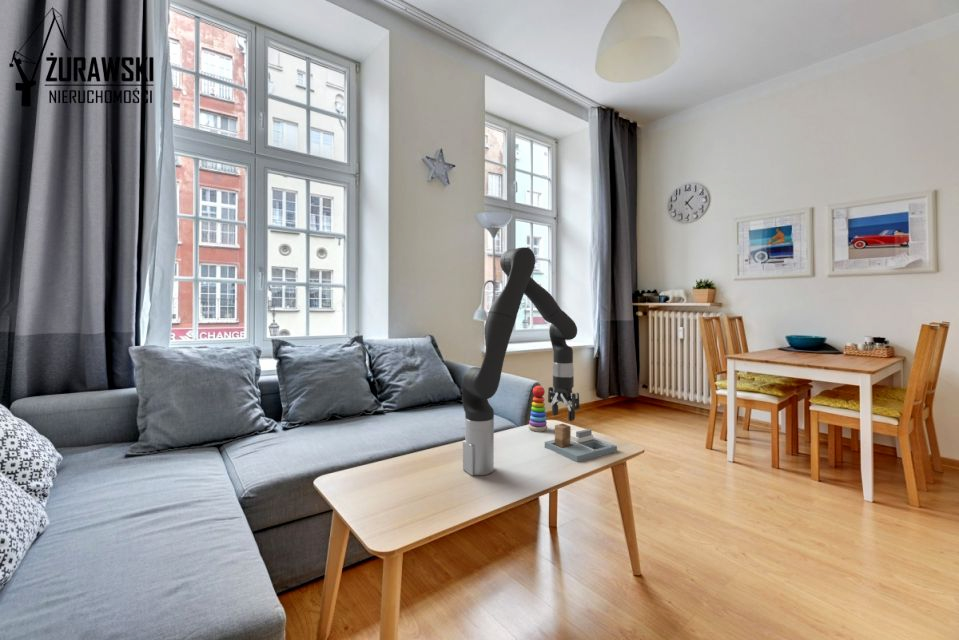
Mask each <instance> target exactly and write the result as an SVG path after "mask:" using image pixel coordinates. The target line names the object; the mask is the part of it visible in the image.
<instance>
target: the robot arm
mask: <svg viewBox="0 0 959 640" xmlns="http://www.w3.org/2000/svg"><path fill="white" fill-rule="evenodd" d="M499 264H500V267H501V271H503V273H504V274H505V275H506V276H507V277H508V278H507V282H506V283H505V286H504V288H503V289H502V290H501V292H500V293H499V294H498V296H497V297H495V298H496V299H495V300H494V301H493V303H492V305H491V306H490V308H489V311H488V314H487V317H486V320H485V325H484V329H483V330H484V332H483V333H484V343H485V346H484V347H485V351H484V356H483V359H482V362H481V366H480V367H477V366H474V367H473V366H472V367H470V368H468V369H467V370H466V371H465V372H464V374H463V377H462V381H461V394H462V408H463V411H464V413H465V414H464V416H465V417H464V420H465V424H464V425H465V427H464V430H465V431H464V433H465V435H464V437H465V438H464V439H465V440H464V439H463V440H462V470H463V471H464V472H466V473H467V474H468V475H470V476H485V475H486V476H487V475H490V474H491V473H493V472H494V469H495V467H494V464H495V462H494V460H495V459H494V457H495V456H494V454H495V452H494V450H495V445H494V443H495V441H494V440H495V439H494V438H495V437H494V435H495V434H494V433H495V431H494V430H495V426H494V425H495V422H494V421H495V419H494V418H495V412H494V408H493V407H492V406H491V404H490V402H489V401H488V400H490V399H491V398H492V397H494V395H495V394H496V392H497V391H498V388H499V385H500V381H501V377H502V371H503V366H504V361H505V357H506V353H507V350H508V347H509V343H510V340H511V336H512V333H513V331H514V327H515V324H516V320H517V317H518V313H519V309H520V306H521V304H522V300H523V299H524V295H525V296H526V297H527V298H528V300H530V302H531V304H533V306H534V307H535V308H536V310H537V311H538V313H539V314H540V315H541V317H542V318H543V320H544V321H545V322H547V323H549V324H550V326H549V330H548V333H549V338H550V344H551V348H552V351H553V364H552V386H549V387H548V389H547V390H548V392H547V394H548V395H547V402H548V403H550V405H551V413H552V416H558V415H559V403H560V402H562V403H563V404H564V405H565V407H567V409H568V412H567V413H568V414H567V415H568V418H567V419H568V422H573V421H574V420H575V419H576V417H575V416H576V415H575V414H576V411H578V410H580V408H581V407H580V394H579V392H573V388H574V387H575V385H574V383H575V379H574V376H575V373H574V369H575V368H574V350H573V348H572V346H569V345H568V344H567V342H566V341H571V340H573V339H575V338H576V337H577V335H578V327H577V323H576V322H575V320H573V319H572V318H571V317H570V316H569V315H568V313H566V312H565V311H564V310H562V308H561V306H560V305H559V304H558V303H557V300H555V298H554V296H552V294H551V293H550V292H549V291H547V290H546V289H545V288H544V287H543V286H542V285H540V284H539V283H538V282H537V281H536V280H534V279H533V277H532V275H533V272H534V270H535V266H536V256H535V252H534V251H533V250H532V249H531V248H530V247H525V246H524V247H518V248H512V249H509V250H507V251H504V252H503V253H502V254H501V256H500V258H499Z"/></svg>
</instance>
